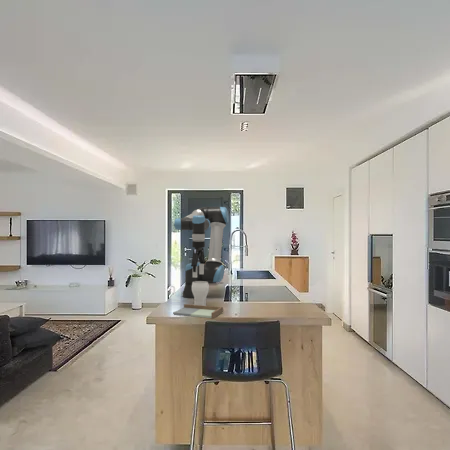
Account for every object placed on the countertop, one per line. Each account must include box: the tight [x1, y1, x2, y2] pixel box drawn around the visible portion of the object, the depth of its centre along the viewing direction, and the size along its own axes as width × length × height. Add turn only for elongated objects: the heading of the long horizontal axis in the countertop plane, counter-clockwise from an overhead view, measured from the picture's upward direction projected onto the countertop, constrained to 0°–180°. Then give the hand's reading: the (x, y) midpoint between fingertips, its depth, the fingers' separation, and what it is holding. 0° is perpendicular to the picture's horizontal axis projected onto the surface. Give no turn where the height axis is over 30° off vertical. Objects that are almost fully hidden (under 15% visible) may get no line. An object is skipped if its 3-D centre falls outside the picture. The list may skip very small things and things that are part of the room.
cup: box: [192, 281, 210, 306], centre depth 262 cm, size 11×11×15 cm
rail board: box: [172, 303, 224, 319], centre depth 244 cm, size 16×24×3 cm, turn 72°
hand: (198, 275), depth 260 cm, fingers open, 13 cm apart
